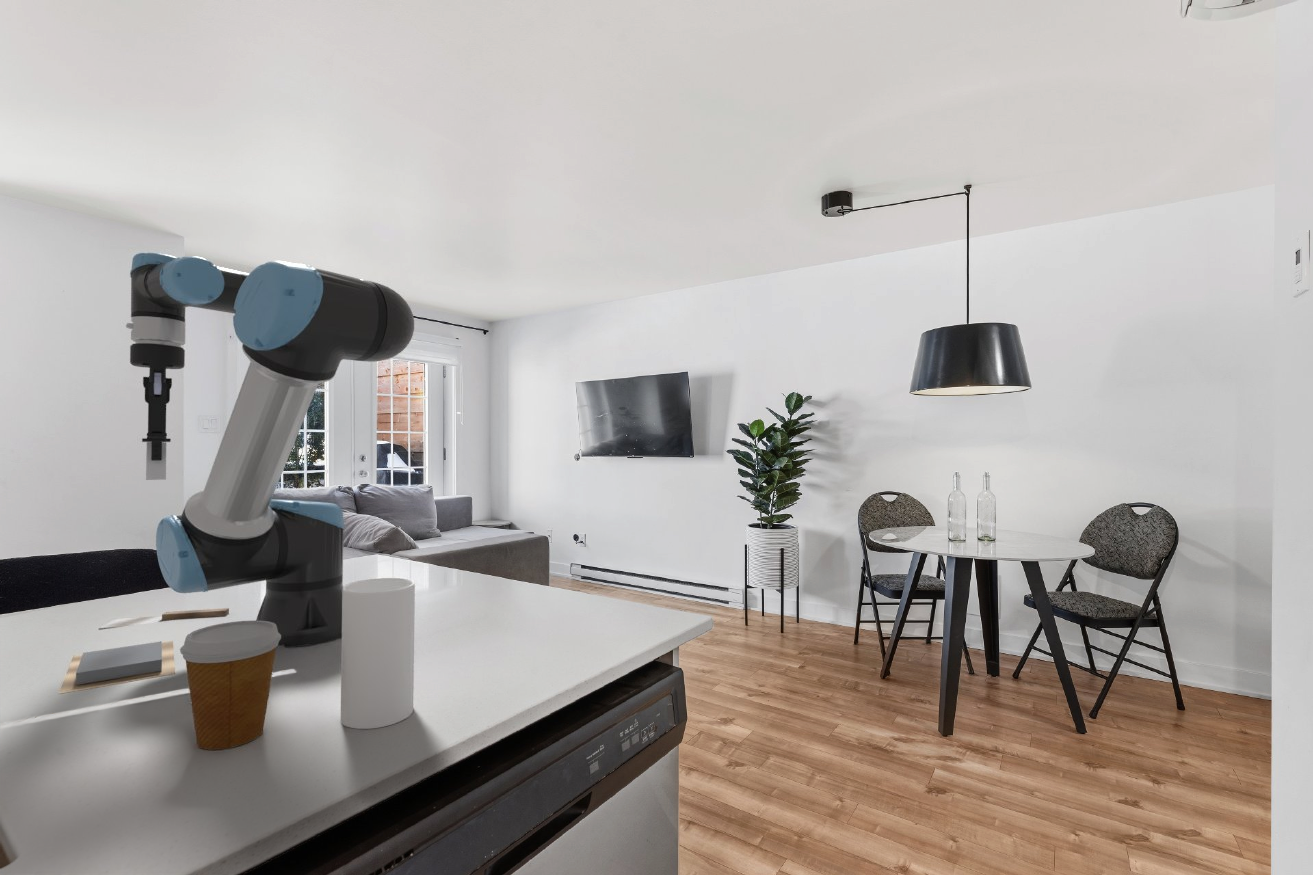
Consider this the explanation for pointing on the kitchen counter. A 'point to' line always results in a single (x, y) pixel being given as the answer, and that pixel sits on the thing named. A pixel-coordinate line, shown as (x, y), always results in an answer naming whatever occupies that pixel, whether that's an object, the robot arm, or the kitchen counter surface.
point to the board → (167, 669)
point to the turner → (166, 617)
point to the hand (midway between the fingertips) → (156, 479)
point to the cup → (377, 652)
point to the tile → (119, 662)
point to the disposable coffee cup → (230, 680)
